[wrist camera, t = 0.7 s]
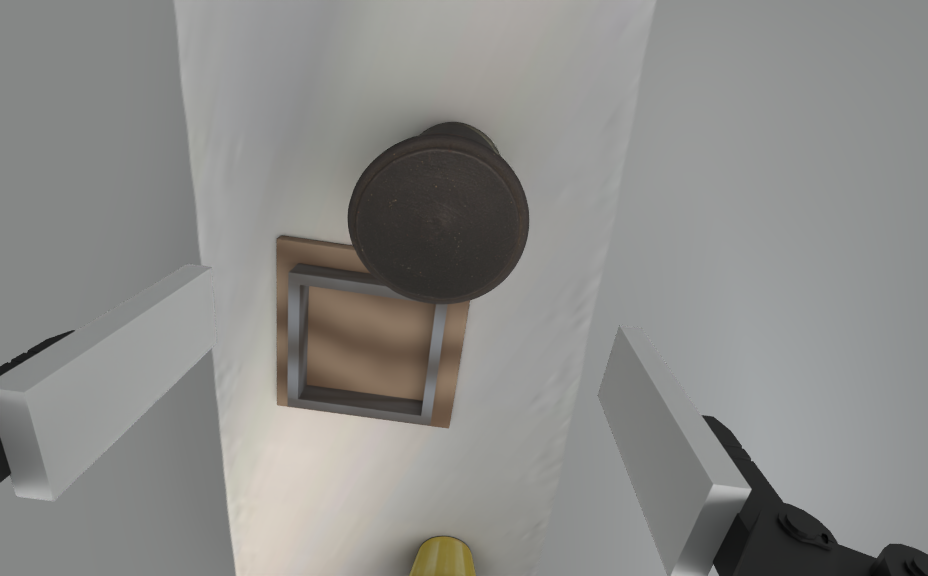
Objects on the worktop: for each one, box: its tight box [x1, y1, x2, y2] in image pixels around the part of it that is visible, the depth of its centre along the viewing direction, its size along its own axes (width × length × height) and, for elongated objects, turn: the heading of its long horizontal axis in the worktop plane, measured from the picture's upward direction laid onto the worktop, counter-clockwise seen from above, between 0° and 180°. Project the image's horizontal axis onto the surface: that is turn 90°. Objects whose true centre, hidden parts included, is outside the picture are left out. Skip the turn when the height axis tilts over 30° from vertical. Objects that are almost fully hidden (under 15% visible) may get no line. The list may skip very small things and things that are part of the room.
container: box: [348, 122, 529, 304], centre depth 31 cm, size 9×9×20 cm
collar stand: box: [277, 236, 470, 428], centre depth 45 cm, size 18×18×4 cm
